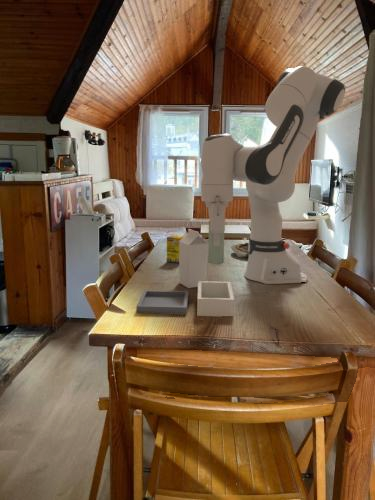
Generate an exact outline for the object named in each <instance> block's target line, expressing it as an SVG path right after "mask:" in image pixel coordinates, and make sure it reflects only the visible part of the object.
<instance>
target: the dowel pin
mask: <svg viewBox="0 0 375 500" xmlns="http://www.w3.org/2000/svg"><path fill="white" fill-rule="evenodd" d="M224 254H225V232H224V233H221V238H220V245H219V246H214V238H213V233H211V228H210V220H208V248H207V264H211V265H221V264H224V263H225V262H224V261H225V260H224V259H225V257H224V256H225V255H224Z"/></svg>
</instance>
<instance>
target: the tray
mask: <svg viewBox="0 0 375 500" xmlns="http://www.w3.org/2000/svg"><path fill="white" fill-rule="evenodd" d="M188 304H189V291H188V290H158V289H157V290H155V289H154V290H153V289H149V290H147V289H146V290H145V289H143V291H142V294H141V296H140V298H139V300H138V302H137V305H136V313H137V314H161V315H162V314H163V315H165V314H167V315H168V314H169V315H187V314H188V313H187V312H188Z"/></svg>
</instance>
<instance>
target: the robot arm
mask: <svg viewBox="0 0 375 500" xmlns="http://www.w3.org/2000/svg"><path fill="white" fill-rule="evenodd" d="M345 94H346V87H345V84H344V83H343V82H342V81H340V80H338V79H336V78H334V79H333V78H331V77H328V76H327V75H324V74H322V73H321V74H320V73H318V72H315V71H314V69H312V68H311V67H308V66H305V65H300V66H297V67H294V68H293V67H290V68H287V69H286V70H284V71H282V73H281V74H280V76H279V78H278V79H277V82H276V86H275V87H274V88H273V90H272V91H271V92H270V94H269V96H268V97H267V100H266V102H265V105H264V106H265V107H264V108H265V109H264V111H265V115H266V116H267V118H268V120H269V121H270V123H271V124H273V125H274V126H275V127H276V128H275V130H274V132H273V134H272V135H271V137H270V139H269V140H268V141H267V142H266V143H263V144H262V145H258V146H244V145H243V144H241V143H239V142H237V141H236V140H235V138H233V136H232V134H231V133H217V134H213V135H209V136H207V137H206V138H205V139H204V141H203V143H202V147H201V163H200V164H201V165H200V166H201V172H202V178H201V183H200V184H201V185H200V187H201V188H200V190H201V191H200V195H201V196H200V198H201V199H200V200H201V201H202V202H205V207H207V208H208V216H209V221H210V228H211V233H213V238H214V246H219V245H220V238H221V233H224V234H225V231H226V208H228V207H229V202H233V201H234V181H236V182H243V183H245V188H246V191H247V195H248V196H247V197H248V203H249V211H250V237H249V239H248V242H247V243H248V253H249V258H248V259H247V264H246V268H245V271H244V275H243V276H244V277H245V278H246V279H248V280H252V281H253V282H254V281H255V282H258V283H262V284H264V285H277V284H278V285H279V284H280V285H282V284H301V282H305V283H306V282H308V277H307V275H306V274H305V273H304V272H302V270H301V269H302V268H301V264H300V262H299V260H298V259H297V258H296V257H295V256H293V255H292V254H291V253H290V252H289V251H288V249H290V247H291V246H290V244H289V243H288V241H284V240H283V239H282V233H283V231H282V230H283V216H282V214H281V212H280V211H281V210H280V206H279V203H282V202H285V201H287V200H289V199H290V198H291V197H292V196H293V195H294V192H295V189H296V188H295V187H296V185H295V184H296V183H295V178H296V173H297V169H298V167H299V165H300V162H301V160H302V158H303V156H304V154H305V152H306V150H307V148H308V146H309V145H310V142H312V138H313V137H314V135H315V133H316V130H317V127H318V124H319V122H320V120H324V119H325V118H326V117H329V116H331V115H333V114H334V113H336V112H337V111H338V109H339V108H340V107H341V106H342V104H343V102H344V100H345Z"/></svg>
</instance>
